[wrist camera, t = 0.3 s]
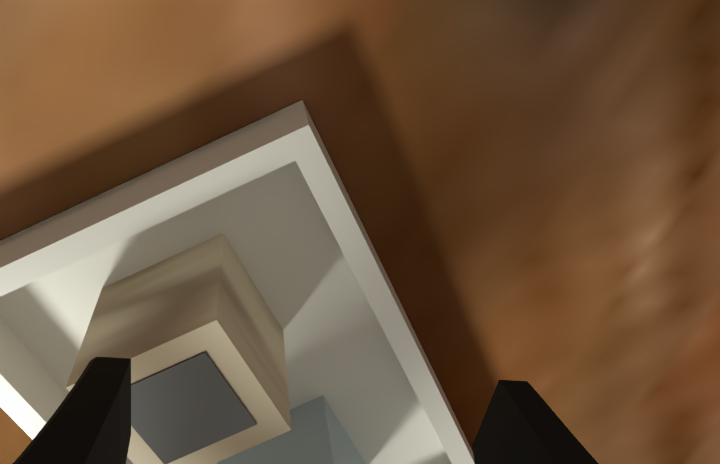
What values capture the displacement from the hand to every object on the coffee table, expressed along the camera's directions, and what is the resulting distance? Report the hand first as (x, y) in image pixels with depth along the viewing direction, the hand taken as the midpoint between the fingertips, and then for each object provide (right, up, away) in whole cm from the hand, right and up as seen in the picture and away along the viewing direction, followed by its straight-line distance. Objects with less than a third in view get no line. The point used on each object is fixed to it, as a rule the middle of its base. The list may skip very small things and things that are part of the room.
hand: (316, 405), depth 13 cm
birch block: (-5, +1, +10) cm, 11 cm away
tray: (-3, -2, +12) cm, 13 cm away
